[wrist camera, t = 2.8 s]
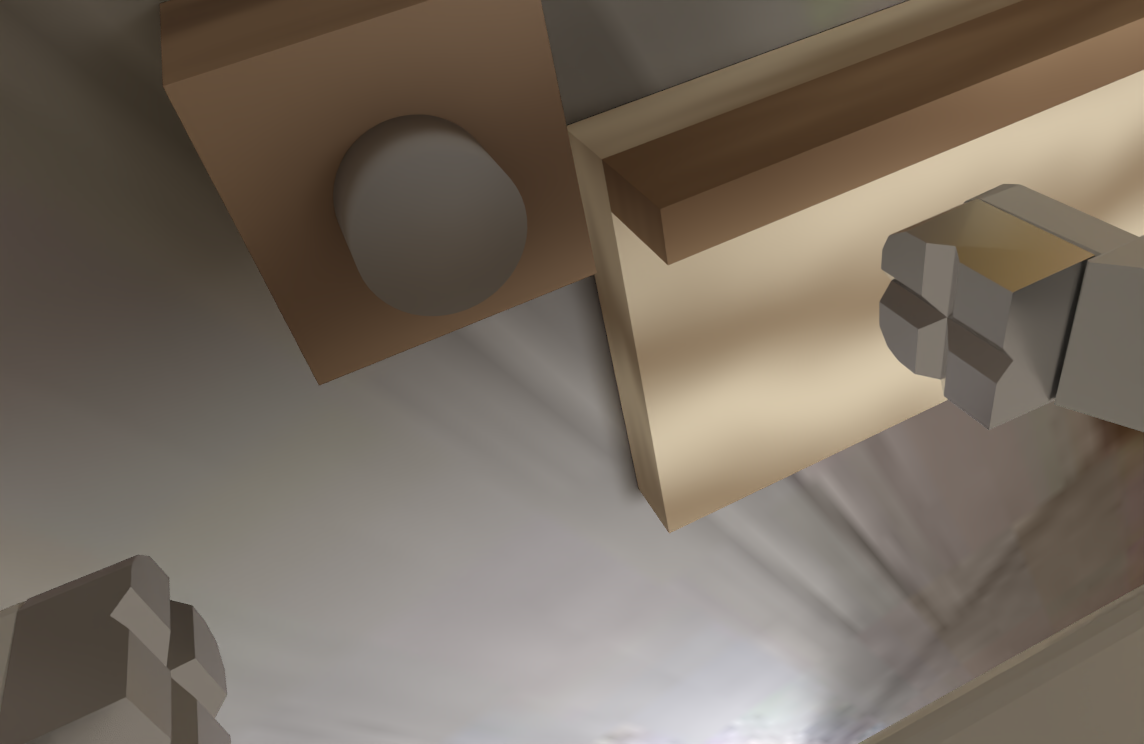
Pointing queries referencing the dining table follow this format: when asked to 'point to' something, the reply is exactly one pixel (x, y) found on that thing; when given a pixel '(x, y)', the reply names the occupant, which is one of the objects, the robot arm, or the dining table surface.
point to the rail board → (829, 219)
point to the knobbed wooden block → (382, 161)
